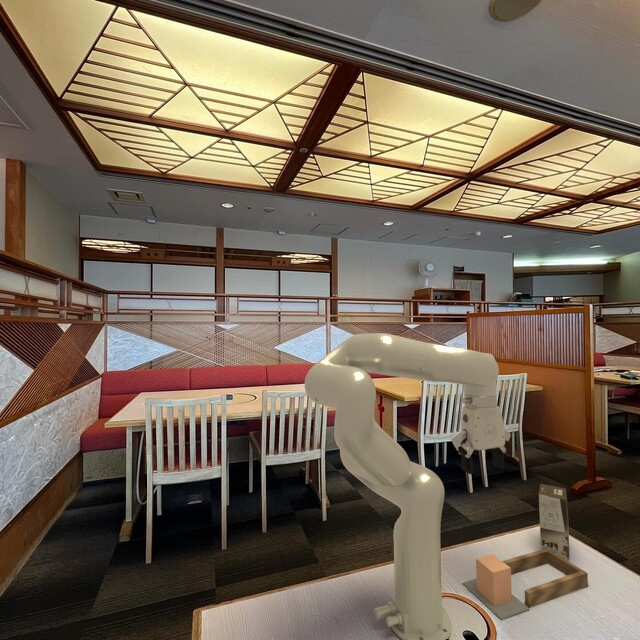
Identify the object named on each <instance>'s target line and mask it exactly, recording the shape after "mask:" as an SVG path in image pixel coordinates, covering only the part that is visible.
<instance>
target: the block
mask: <svg viewBox="0 0 640 640" xmlns="http://www.w3.org/2000/svg"><path fill="white" fill-rule="evenodd" d="M502 561H503V560H502V559H500V558H499V557H497V556H496V555H495V554H493V553H492V554H487V555H484V556H480V557H476V558H475V566H476V567H475V570H476V572H475V573H476V578H477V590H478V591H479V592H480V593H481V594H482V595H483V596H484V597H485V598H486V599H487V600H488V601H490V602H491V603H492V604H493V605H494V606H497V605H500V604H503V603H506V602H509V601H512V595H513V592H512V591H513V589H512V575H511V568H510V567H509V566H508V565H506V564H505V563H504V562H502Z"/></svg>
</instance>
